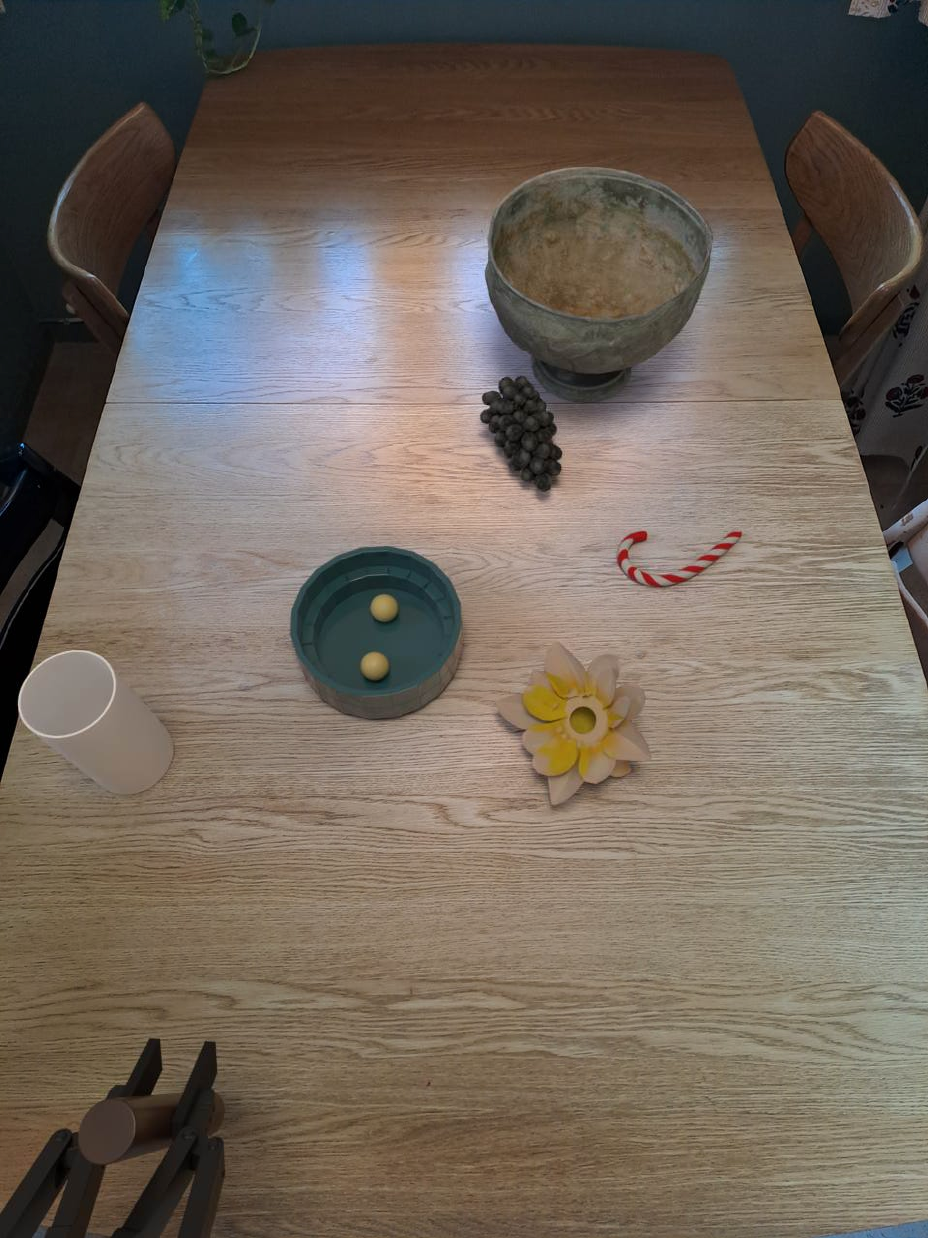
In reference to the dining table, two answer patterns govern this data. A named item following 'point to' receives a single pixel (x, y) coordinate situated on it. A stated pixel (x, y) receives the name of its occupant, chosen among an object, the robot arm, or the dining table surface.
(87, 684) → the cup
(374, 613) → the bead
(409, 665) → the teal bowl
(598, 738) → the decorative flower
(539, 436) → the fruit
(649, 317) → the decorative bowl
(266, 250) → the dining table surface
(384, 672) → the bead
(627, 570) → the candy cane
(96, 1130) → the brown wooden dowel
